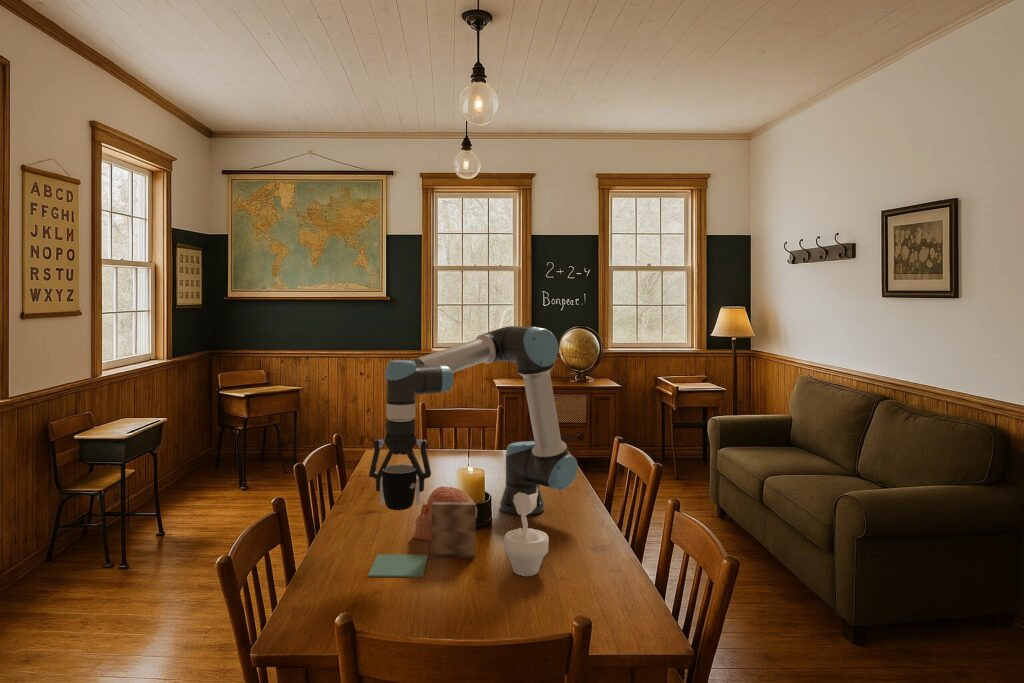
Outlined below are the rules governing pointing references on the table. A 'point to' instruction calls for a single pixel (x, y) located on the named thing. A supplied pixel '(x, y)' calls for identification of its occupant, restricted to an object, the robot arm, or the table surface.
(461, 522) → the walnut board
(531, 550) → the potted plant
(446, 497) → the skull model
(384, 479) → the mug
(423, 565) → the felt pad
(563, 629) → the table surface
